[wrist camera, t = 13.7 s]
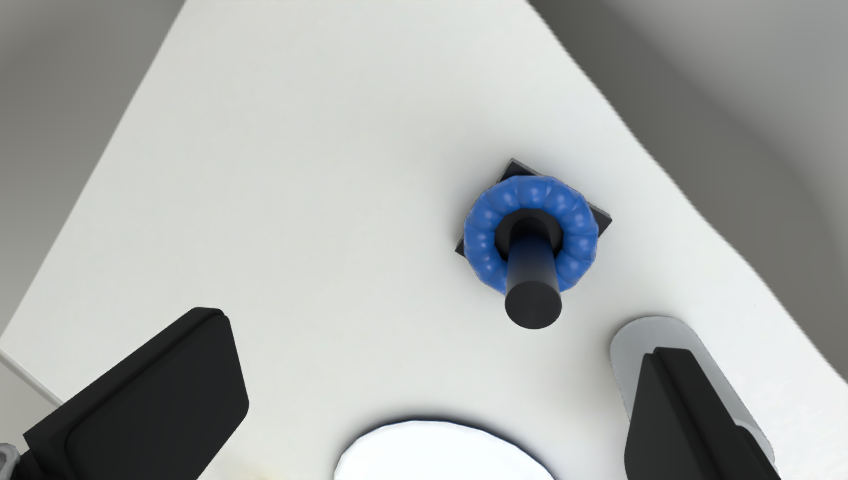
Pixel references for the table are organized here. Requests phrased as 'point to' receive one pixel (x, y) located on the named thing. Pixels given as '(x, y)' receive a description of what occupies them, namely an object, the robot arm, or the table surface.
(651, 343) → the beverage can
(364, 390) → the table surface
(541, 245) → the peg stand
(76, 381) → the table surface
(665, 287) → the table surface
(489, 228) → the ring
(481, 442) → the plate
